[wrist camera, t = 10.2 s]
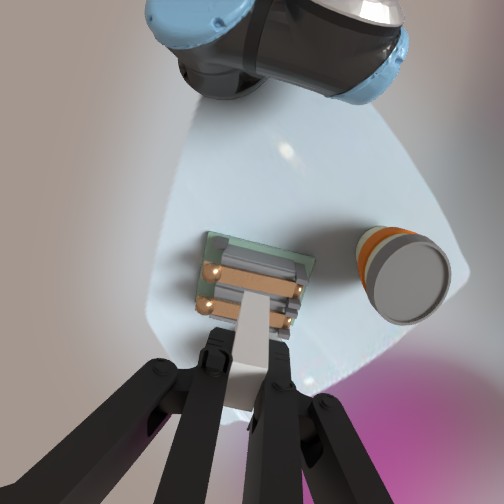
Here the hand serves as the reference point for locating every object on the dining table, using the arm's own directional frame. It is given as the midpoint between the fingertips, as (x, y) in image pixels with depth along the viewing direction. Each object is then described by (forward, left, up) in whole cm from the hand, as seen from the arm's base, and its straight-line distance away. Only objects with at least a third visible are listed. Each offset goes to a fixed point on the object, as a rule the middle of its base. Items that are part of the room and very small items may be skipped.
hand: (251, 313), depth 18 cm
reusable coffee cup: (+1, +21, -33) cm, 39 cm away
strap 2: (+14, +1, -26) cm, 30 cm away
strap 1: (+9, +1, -26) cm, 27 cm away
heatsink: (+12, +1, -32) cm, 34 cm away
